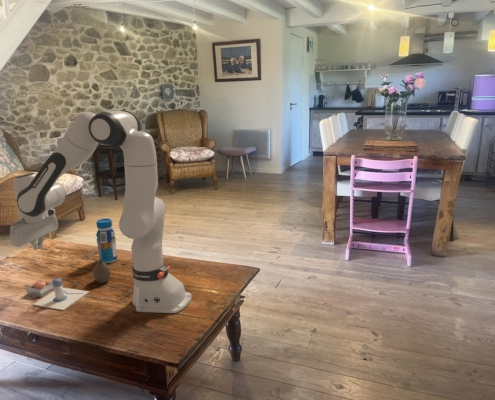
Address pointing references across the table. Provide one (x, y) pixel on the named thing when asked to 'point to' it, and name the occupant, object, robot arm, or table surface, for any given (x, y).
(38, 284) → the button
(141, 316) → the table surface
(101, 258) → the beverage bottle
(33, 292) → the button housing
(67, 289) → the drawing pad
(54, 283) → the dome-topped peg
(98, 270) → the vase
